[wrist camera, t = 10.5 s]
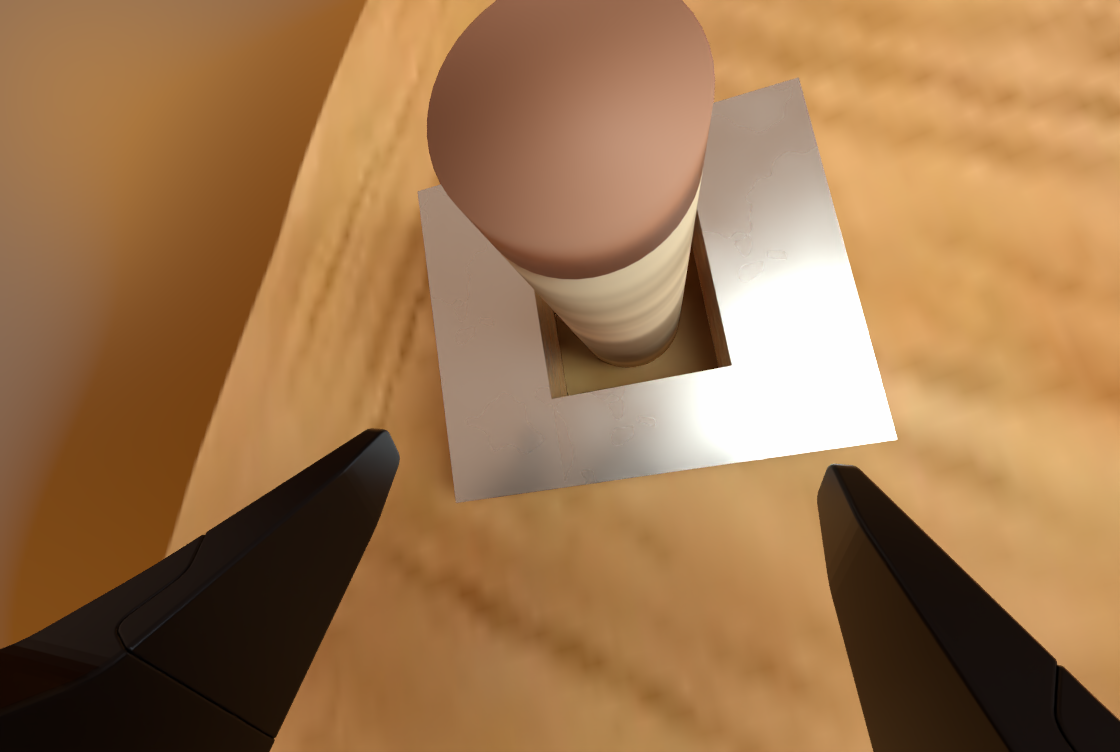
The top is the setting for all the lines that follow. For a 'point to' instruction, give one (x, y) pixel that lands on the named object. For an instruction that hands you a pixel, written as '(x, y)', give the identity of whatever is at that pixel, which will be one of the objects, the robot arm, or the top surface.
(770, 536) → the top surface
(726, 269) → the square hole block
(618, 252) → the beech pin
